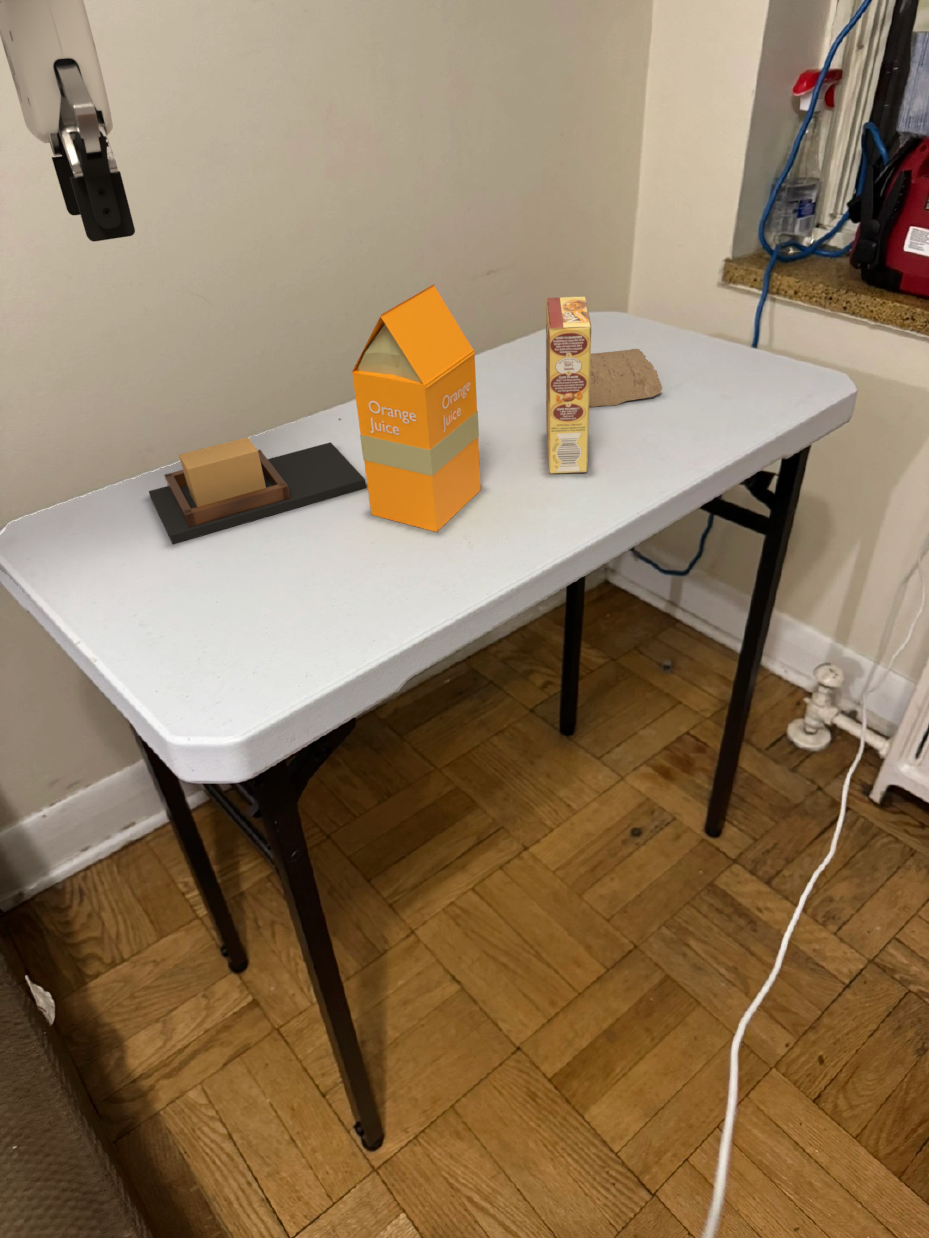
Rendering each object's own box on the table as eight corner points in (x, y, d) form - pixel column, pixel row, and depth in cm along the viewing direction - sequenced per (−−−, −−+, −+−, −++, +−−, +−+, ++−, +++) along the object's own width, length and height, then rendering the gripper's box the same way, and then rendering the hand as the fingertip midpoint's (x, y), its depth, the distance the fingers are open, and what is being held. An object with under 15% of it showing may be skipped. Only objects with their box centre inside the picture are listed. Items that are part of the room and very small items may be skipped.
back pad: (172, 544, 82) (165, 522, 81) (150, 499, 89) (144, 477, 88) (366, 487, 89) (363, 466, 87) (332, 450, 96) (328, 429, 95)
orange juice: (482, 490, 87) (473, 288, 75) (437, 532, 82) (420, 321, 69) (416, 474, 91) (398, 278, 78) (369, 514, 85) (340, 309, 72)
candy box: (588, 474, 89) (594, 326, 79) (547, 475, 89) (548, 327, 80) (582, 435, 96) (587, 294, 86) (544, 436, 96) (545, 296, 87)
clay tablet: (665, 397, 103) (667, 375, 101) (582, 407, 101) (583, 385, 100) (625, 354, 114) (626, 333, 112) (550, 363, 113) (551, 342, 111)
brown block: (266, 491, 87) (258, 450, 85) (198, 510, 85) (187, 469, 82) (256, 476, 90) (247, 436, 87) (189, 494, 88) (178, 454, 85)
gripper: (-53, -63, 58) (34, 211, 69) (-41, -79, 46) (63, 258, 56) (63, -67, 61) (130, 197, 71) (104, -83, 49) (178, 240, 59)
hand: (100, 224), depth 64 cm, fingers open, 9 cm apart
